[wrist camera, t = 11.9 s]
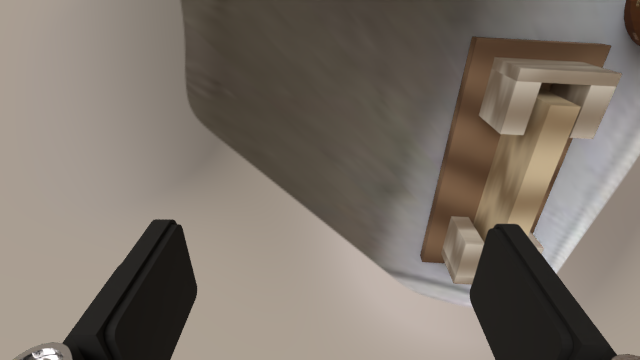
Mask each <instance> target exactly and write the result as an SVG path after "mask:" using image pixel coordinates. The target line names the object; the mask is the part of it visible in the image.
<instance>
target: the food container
mask: <svg viewBox="0 0 640 360" xmlns="http://www.w3.org/2000/svg"><path fill="white" fill-rule="evenodd" d="M624 20H625V27H626V29H627V32H628V34H629V36H630V37H631V39H632V40H633V41H634V42H635V43H636V44H637V45H639V46H640V0H626V4H625V10H624Z"/></svg>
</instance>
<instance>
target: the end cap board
mask: <svg viewBox="0 0 640 360" xmlns="http://www.w3.org/2000/svg"><path fill="white" fill-rule="evenodd" d="M610 48H611V46H610V45H605V44H596V43H577V42H559V41H540V40H522V39H503V38H485V37H472V40H471V44H470V49H469V53H468V57H467V61H466V65H465V70H464V74H463V78H462V82H461V86H460V91H459V95H458V99H457V103H456V107H455V112H454V116H453V120H452V124H451V128H450V133H449V137H448V141H447V145H446V149H445V154H444V158H443V162H442V166H441V170H440V175H439V179H438V183H437V187H436V191H435V196H434V200H433V204H432V208H431V213H430V217H429V221H428V225H427V229H426V234H425V238H424V242H423V246H422V250H421V255H420V256H421V259H422V262H433V263H445V264H446V266H447V269H448V271H449V274H450V276H451V278H452V281H453V283H454V284H472V283H473V279H474V276H475V273H476V269H477V266H478V262H479V259H480V256H481V252H482V249H483V246H484V242H483V240H482V238H481V237H480V235H479V233H478V232H477V230H476V229H475V227H474V225H473V223H474V220H475V216H476V213H477V210H478V207H479V204H480V200H481V197H482V194H483V191H484V187H485V184H486V181H487V178H488V175H489V171H490V168H491V165H492V162H493V159H494V155H495V152H496V149H497V146H498V142H499V139H500V136H501V134H509V135H524V132H525V130H526V127H527V124H528V121H529V118H530V115H531V112H532V109H533V106H534V104H535V101H536V98H537V95H538V92H539V89H540V88H542V89H545V90H547V91H549V92H551V93H553V94H555V95H557V96H559V97H561V98H563V99H566V100H568V101H570V102H572V103H574V104H576V105H578V106H580V107H581V108H580V110H579V113H578V115H577V118H576V120H575V122H574V125H573V127H572V130H571V132H570V135H569V137H568V139H567V142H566V144H565V147H564V149H563V152H562V154H561V157H560V159H559V161H558V164H557V166H556V169H555V171H554V174H553V176H552V178H551V181H550V183H549V186H548V188H547V191H546V193H545V196H544V198H543V200H542V203H541V205H540V208H539V210H538V213H537V215H536V217H535V220H534V222H533V225H532V227H531V230H530V232H529V235H528V237H529V239H530V240H531V241H532V243H533V244H534V245H535V247H536V248H537V249H538V251H539V252H540V253H541V254H542V251H543V249H544V248H543V246H542V245H541V244H540V243H539V242H538V240H537V239H536V238H535V237H534V235H533V232H534V229H535V227H536V225H537V222H538V220H539V217H540V215H541V213H542V210H543V208H544V205H545V203H546V201H547V198H548V196H549V194H550V191H551V189H552V186H553V184H554V182H555V179H556V177H557V174H558V172H559V170H560V167H561V165H562V163H563V160H564V158H565V155H566V153H567V151H568V148H569V146H570V143H571V141H572V139H573V138H584V139H593V138H594V136H595V133H596V131H597V129H598V127H599V124H600V122H601V120H602V118H603V116H604V113H605V111H606V109H607V107H608V104H609V102H610V100H611V98H612V95H613V93H614V91H615V89H616V87H617V84H618V82H619V80H620V78H621V75H622V74H621V73H618V72H614V71H611V70H608V69H604V68H602V67H603V65H604V62H605V60H606V58H607V55H608V53H609V50H610Z"/></svg>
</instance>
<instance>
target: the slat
mask: <svg viewBox="0 0 640 360" xmlns="http://www.w3.org/2000/svg"><path fill="white" fill-rule="evenodd" d="M580 108H581V107H580V106H578V105H576V104H574V103H572V102H570V101H568V100H566V99H563V98H561V97H559V96H557V95H555V94H553V93H551V92H549V91H547V90H545V89H542V88H540V89H539V92H538V95H537V98H536V101H535V104H534V106H533V109H532V112H531V115H530V118H529V121H528V124H527V127H526V130H525V132H524V135H509V134H501V136H500V139H499V142H498V146H497V149H496V152H495V155H494V159H493V162H492V165H491V168H490V171H489V175H488V178H487V181H486V184H485V187H484V191H483V194H482V197H481V200H480V204H479V207H478V210H477V213H476V216H475V220H474V223H473V225H474V227H475V229H476V230H477V232H478V233H479V235H480V237H481V238H482V240H483V242H485V239H486V236H487V232H488V230H489V229H491V228H494V226H495V225H496V224H518V225H519V226H520V227H521V228H522V229H523V231H524V232H525V233H526V235H527V236H528V235H529V232H530V230H531V227H532V225H533V222H534V220H535V217H536V215H537V213H538V210H539V208H540V205H541V203H542V200H543V198H544V196H545V193H546V191H547V188H548V186H549V183H550V181H551V178H552V176H553V174H554V171H555V169H556V166H557V164H558V161H559V159H560V157H561V154H562V152H563V149H564V147H565V144H566V142H567V139H568V137H569V135H570V132H571V130H572V127H573V125H574V122H575V120H576V118H577V115H578V113H579V110H580Z"/></svg>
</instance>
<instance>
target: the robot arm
mask: <svg viewBox="0 0 640 360" xmlns="http://www.w3.org/2000/svg"><path fill="white" fill-rule="evenodd" d="M196 295H197V284H196V280H195V277H194V273H193V269H192V265H191V261H190V257H189V253H188V249H187V245H186V241H185V237H184V233H183V229H182V226H181V225H177V223H176V222H175V220H153V221H152V222H151V224H150V225H149V226H148V228H147V229H146V230H145V232H144V233H143V235H142V236H141V238H140V239H139V240H138V242H137V243H136V244H135V246H134V247H133V249H132V250H131V251H130V253H129V254H128V255H127V257H126V258H125V260H124V261H123V262H122V264H121V265H119V266H118V267H117V269H116V270H115V271H114V273H113V274H112V276H111V277H110V278H109V280H108V281H107V282H106V284H105V285H104V287H103V288H102V289H101V291H100V292H99V293H98V295H97V296H96V298H95V299H94V300H93V302H92V303H91V304H90V306H89V307H88V309H87V310H86V311H85V313H84V314H83V315H82V317H81V318H80V320H79V321H78V322H77V324H76V325H75V327H74V328H73V329H72V331H71V332H70V333H69V335H68V336H67V337H66V339H65V340H64V342H63V343H54V342H52V343H46V344H41V345H38V346H36V347H33V348H30V349H29V350H27V351H25V352H23V353H22V354H20V355H18V356H17V357H16V358H14V359H13V360H170V359H171V356H172V354H173V352H174V349H175V347H176V345H177V342H178V340H179V337H180V335H181V332H182V330H183V328H184V325H185V323H186V320H187V318H188V315H189V313H190V311H191V308H192V306H193V304H194V301H195V298H196ZM470 300H471V304H472V306H473V308H474V311H475V313H476V315H477V318H478V320H479V322H480V325H481V327H482V329H483V332H484V334H485V336H486V339H487V341H488V343H489V346H490V348H491V350H492V353H493V355H494V357H495V360H640V356H635V355H630V354H625V355H624V354H623V355H617V354H616V353H615V352H614V351H613V349H612V348H611V346H610V345H609V344H608V342H607V341H606V340H605V338H604V337H603V336H602V334H601V333H600V332H599V330H598V329H597V328H596V326H595V325H594V324H593V322H592V321H591V320H590V318H589V317H588V316H587V314H586V313H585V312H584V310H583V309H582V308H581V306H580V305H579V304H578V302H577V301H576V300H575V298H574V297H573V296H572V294H571V293H570V292H569V290H568V289H567V288H566V287H565V285H564V284H563V282H562V281H561V280H560V279H559V277H558V276H557V275H556V273H555V272H554V271H553V269H552V268H551V267H550V265H549V264H548V263H547V261H546V260H545V259H544V257H543V256H542V255H541V253H540V252H539V251H538V249H537V248H536V247H535V245H534V244H533V243H532V241H531V240H530V239H529V237H528V236H527V235H526V233H525V232H524V231H523V229H522V228H521V227H520V226H519V225H518V224H496V225H495V226H494V228H491V229H489V230H488V232H487V236H486V239H485V242H484V246H483V249H482V252H481V256H480V259H479V262H478V266H477V269H476V273H475V276H474V279H473V283H472V286H471V289H470Z"/></svg>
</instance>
